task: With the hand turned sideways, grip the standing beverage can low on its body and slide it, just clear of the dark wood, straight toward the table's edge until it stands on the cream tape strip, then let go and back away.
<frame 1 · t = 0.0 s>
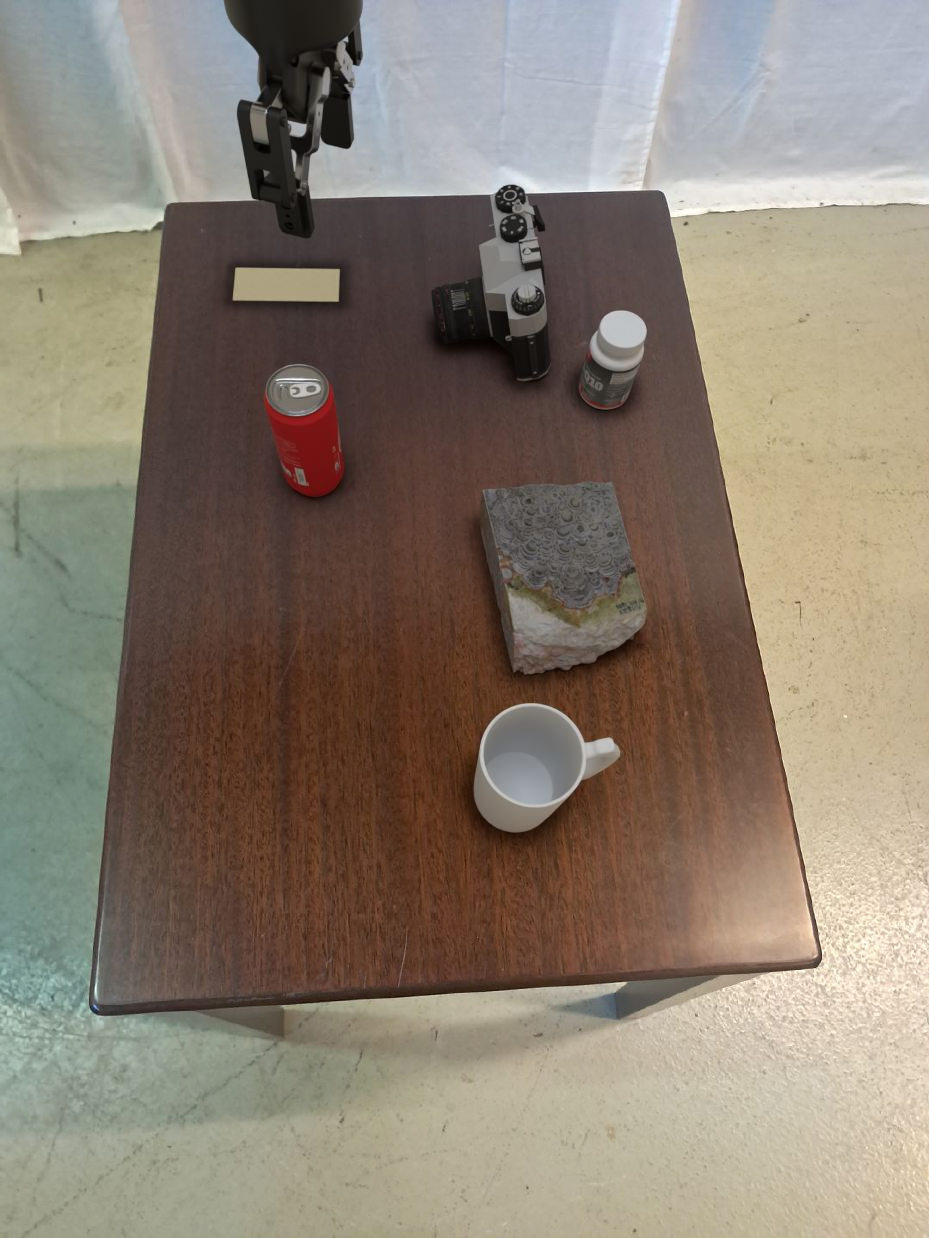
hand: (318, 187, 59), 22 cm above the table, tool pointing down, fingers open, 8 cm apart
beverage can: (315, 476, 76), on the table
mug: (534, 788, 66), on the table
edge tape: (286, 285, 83), on the table
geological specimen: (556, 585, 73), on the table
pill bottle: (602, 391, 81), on the table
camera: (486, 323, 83), on the table
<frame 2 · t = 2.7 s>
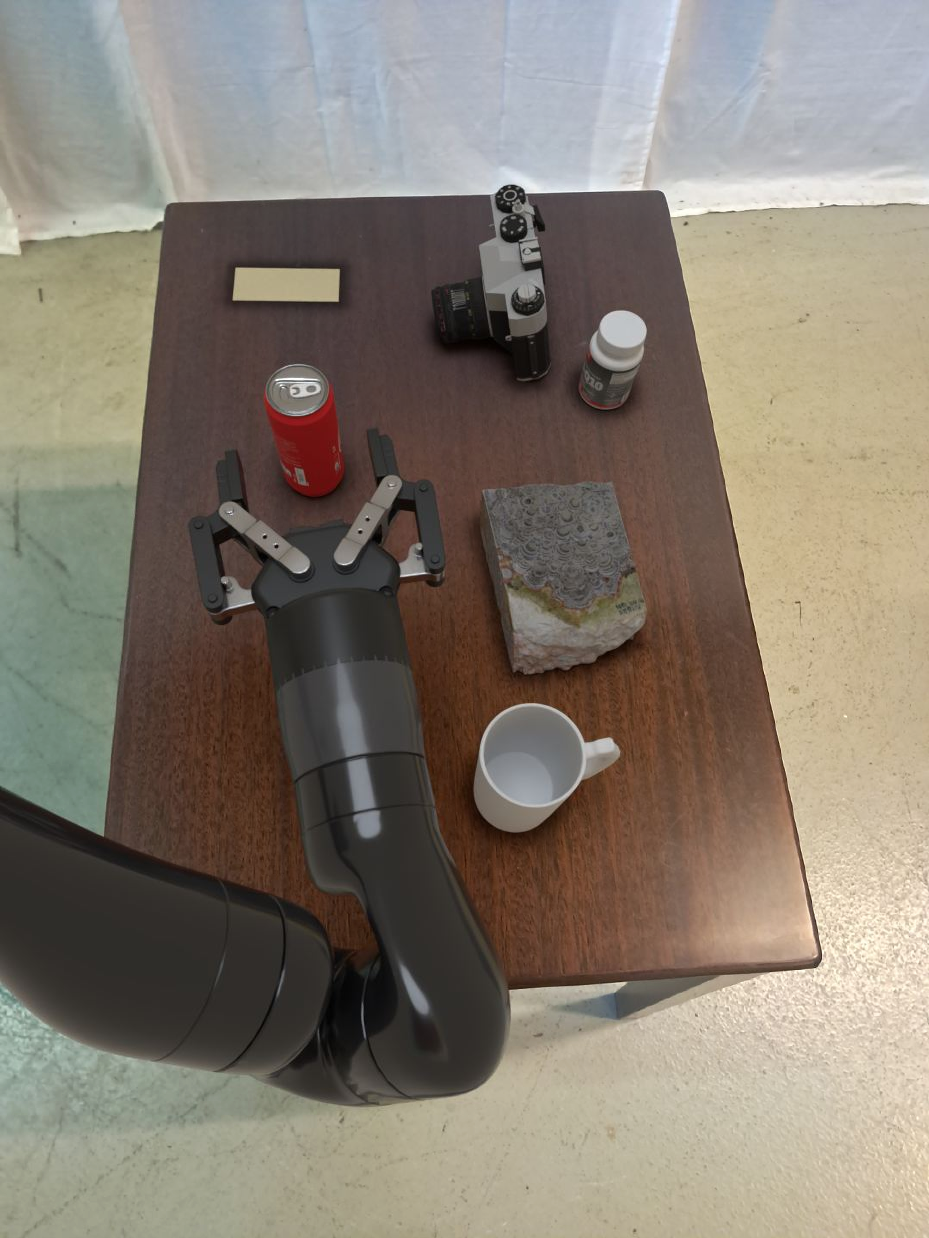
hand: (303, 446, 53), 20 cm above the table, tool horizontal, fingers open, 8 cm apart
nothing on the table moved.
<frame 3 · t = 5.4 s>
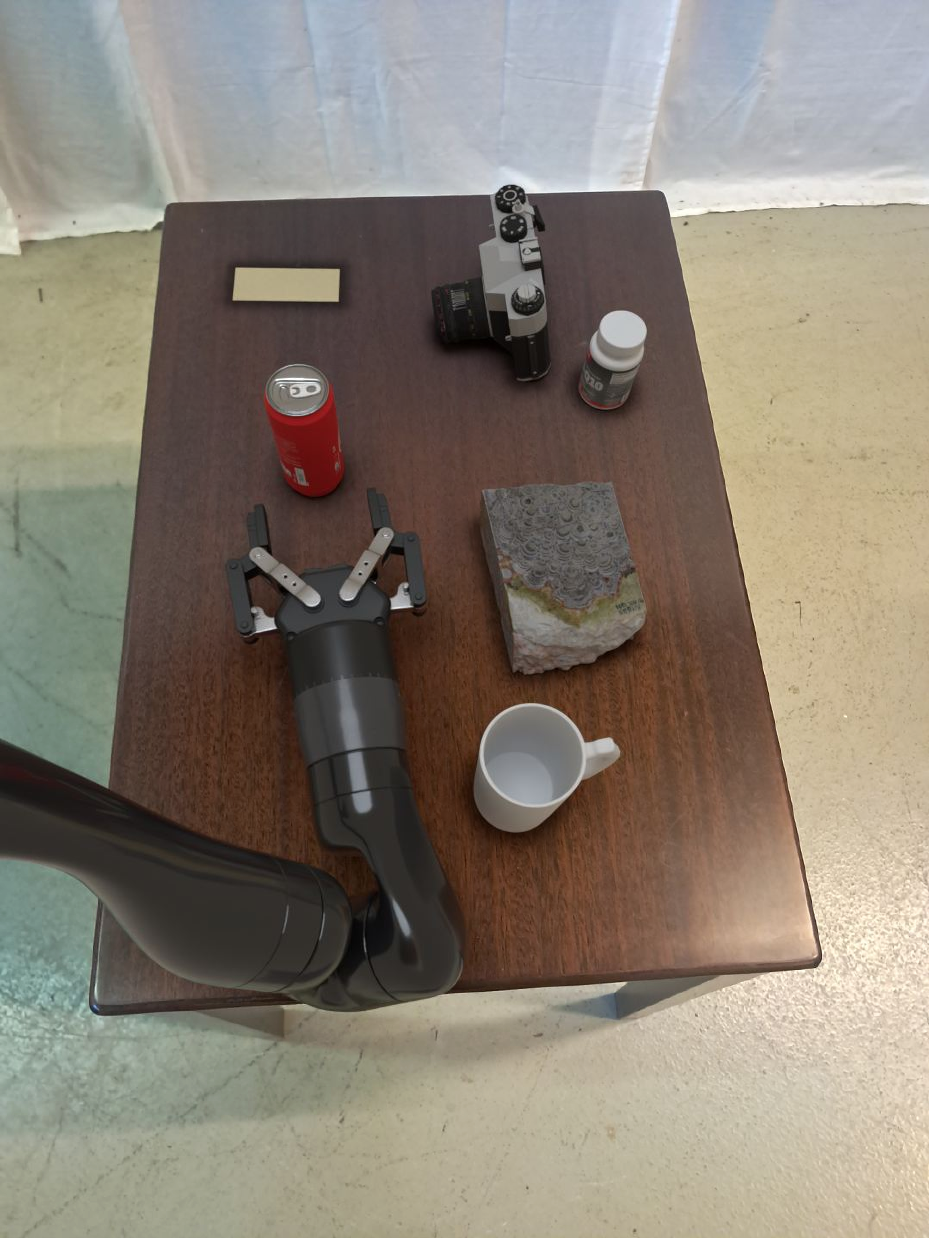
hand: (315, 500, 67), 7 cm above the table, tool horizontal, fingers open, 8 cm apart
nothing on the table moved.
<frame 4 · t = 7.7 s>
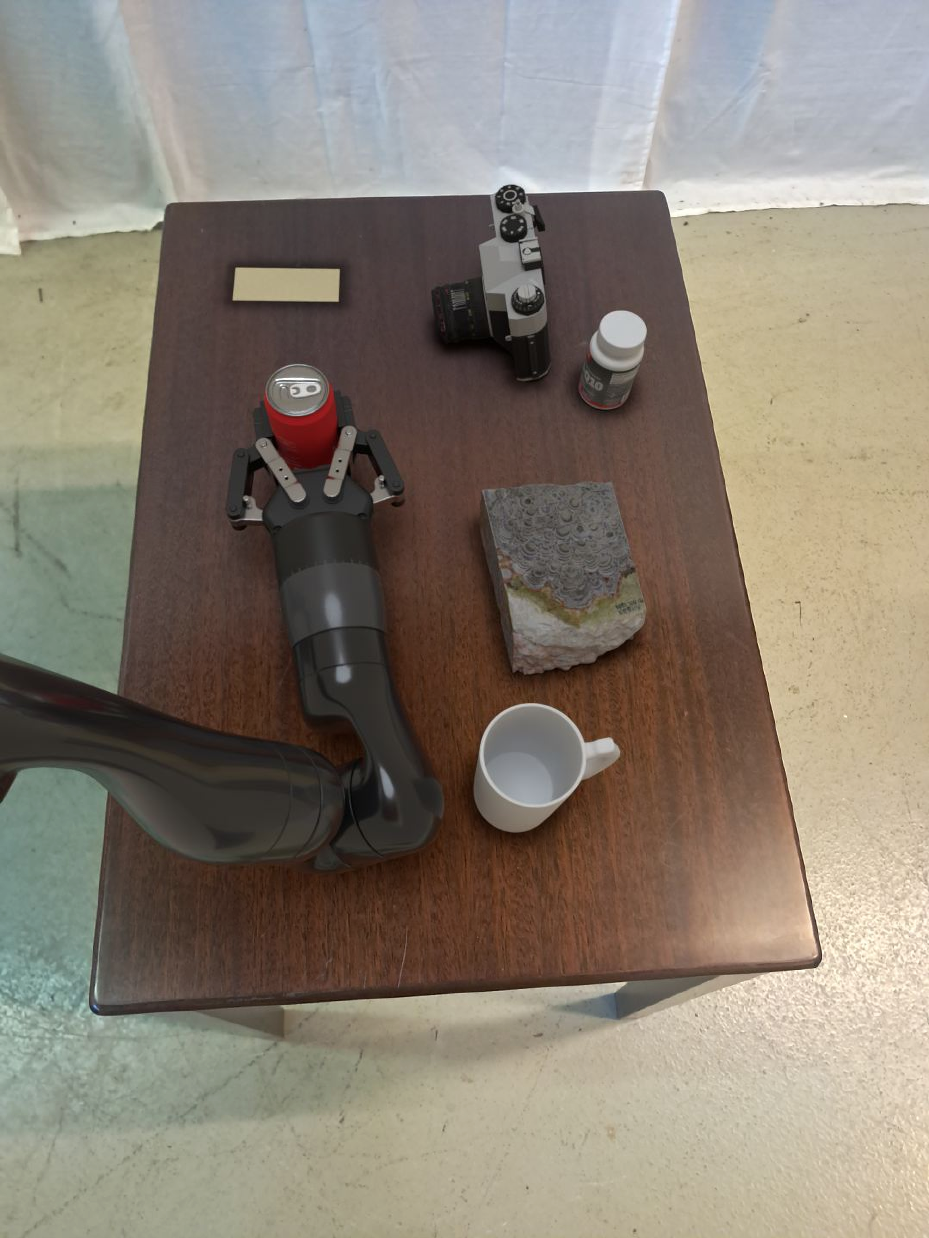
hand: (301, 402, 70), 7 cm above the table, tool horizontal, fingers closed on beverage can, 5 cm apart
beverage can: (315, 476, 76), on the table, touching gripper
everything else where it was.
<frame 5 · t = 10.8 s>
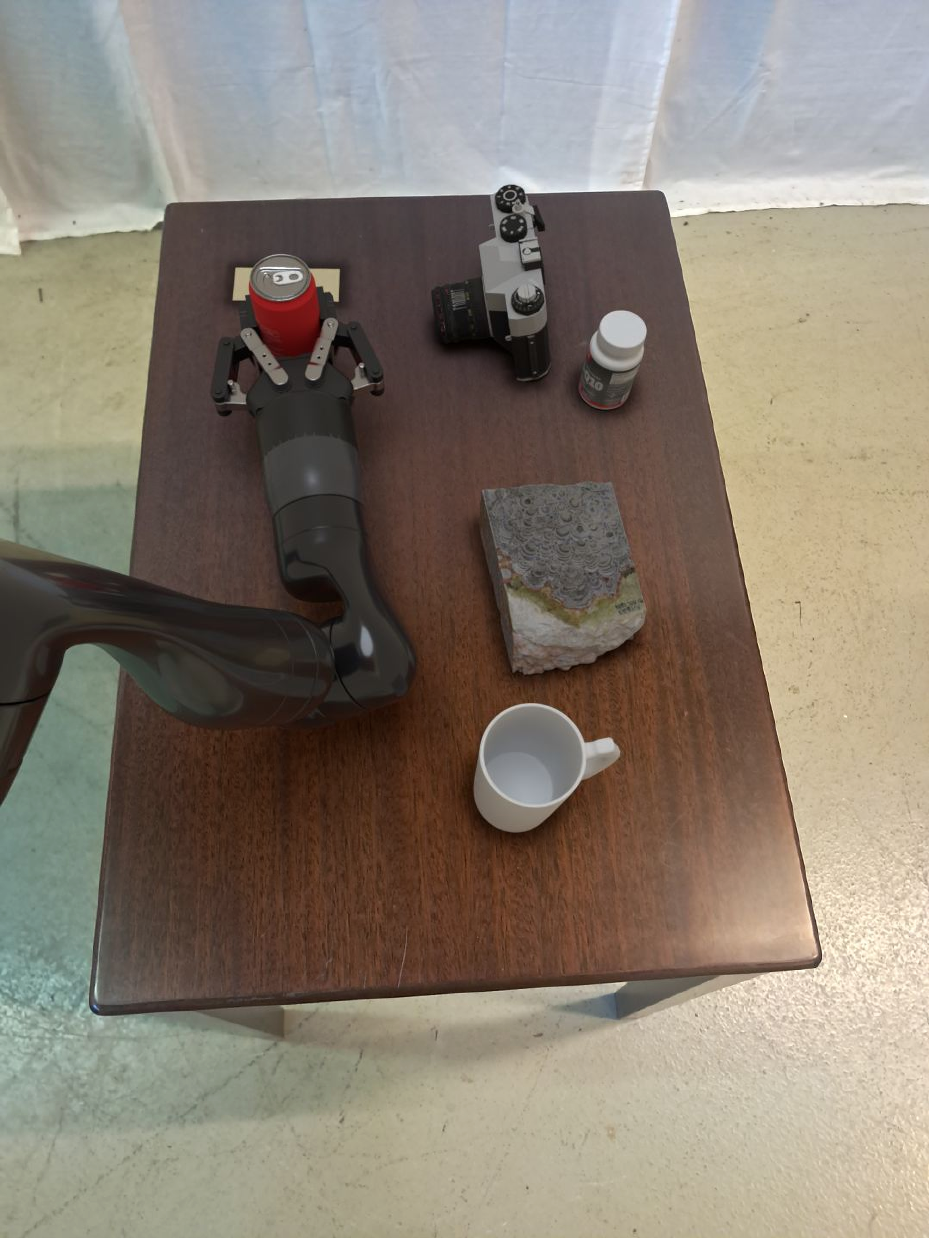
hand: (285, 298, 73), 8 cm above the table, tool horizontal, fingers closed on beverage can, 5 cm apart
beverage can: (300, 378, 78), point 1 cm above the table, touching gripper
everything else where it was.
when the fingers open (7 cm above the table, at t = 14.0 s): beverage can stays where it is, resting on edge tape.
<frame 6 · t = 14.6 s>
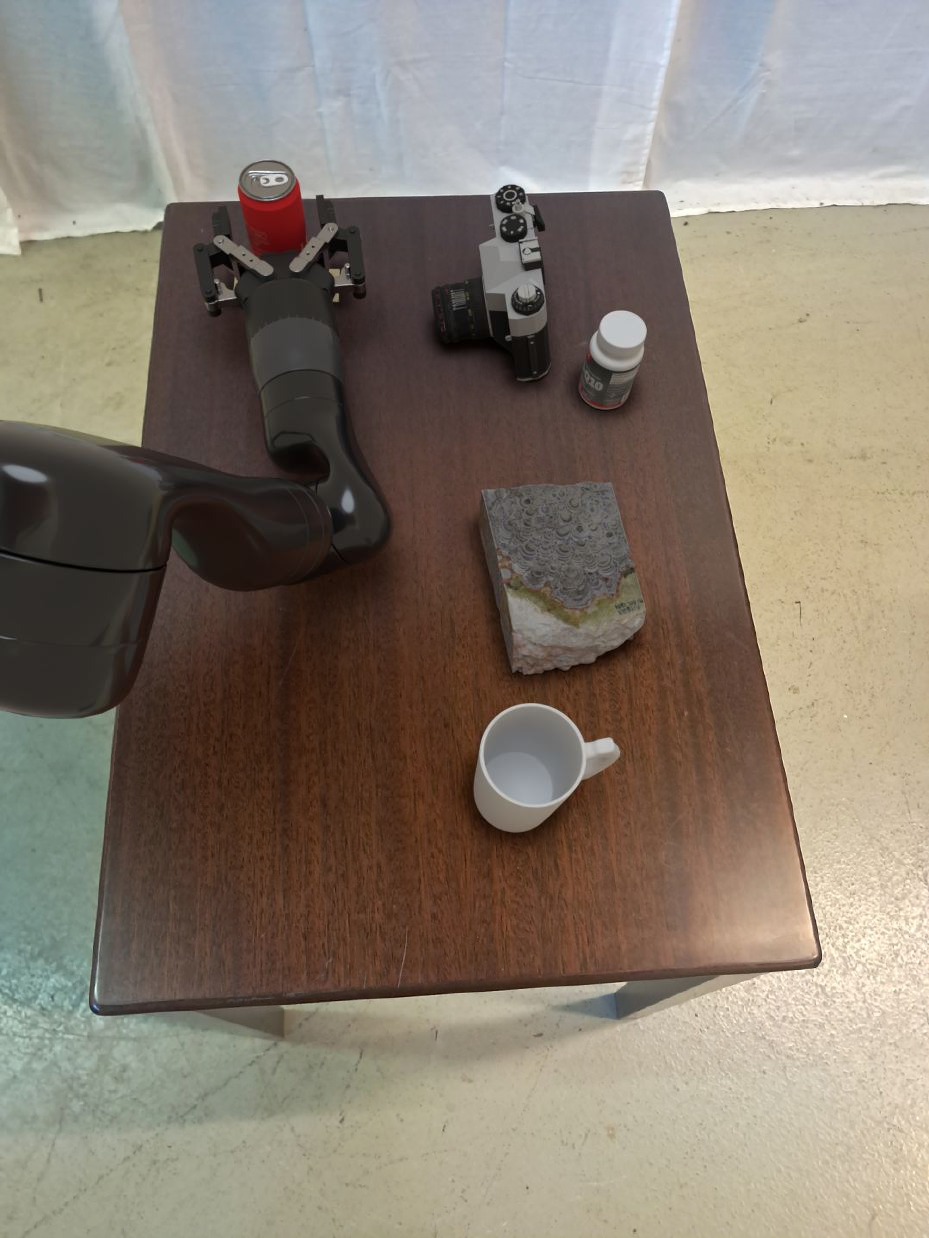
hand: (272, 207, 77), 7 cm above the table, tool horizontal, fingers open, 8 cm apart
beverage can: (287, 286, 84), resting on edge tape
everything else where it was.
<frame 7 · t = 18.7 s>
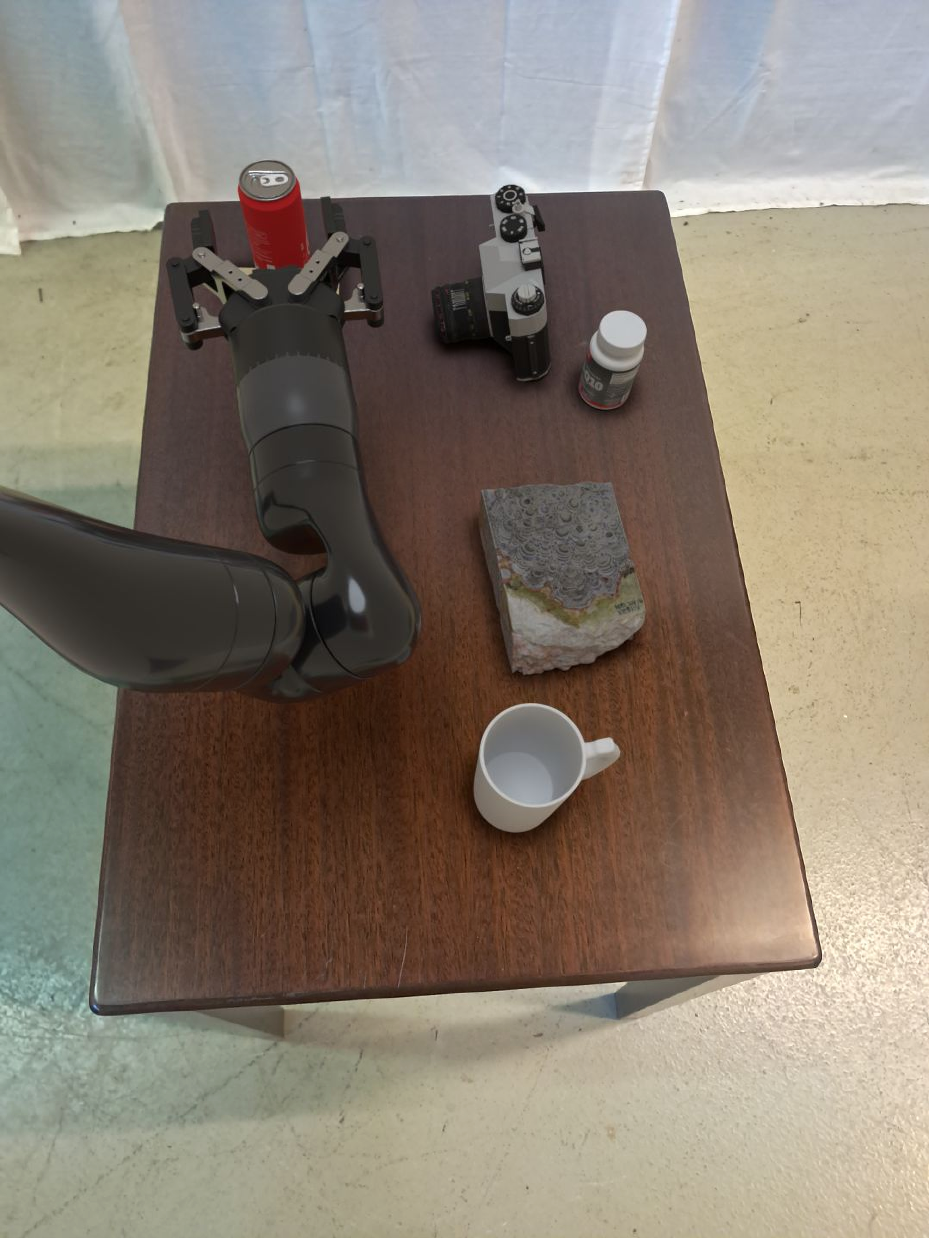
hand: (266, 212, 62), 19 cm above the table, tool horizontal, fingers open, 8 cm apart
nothing on the table moved.
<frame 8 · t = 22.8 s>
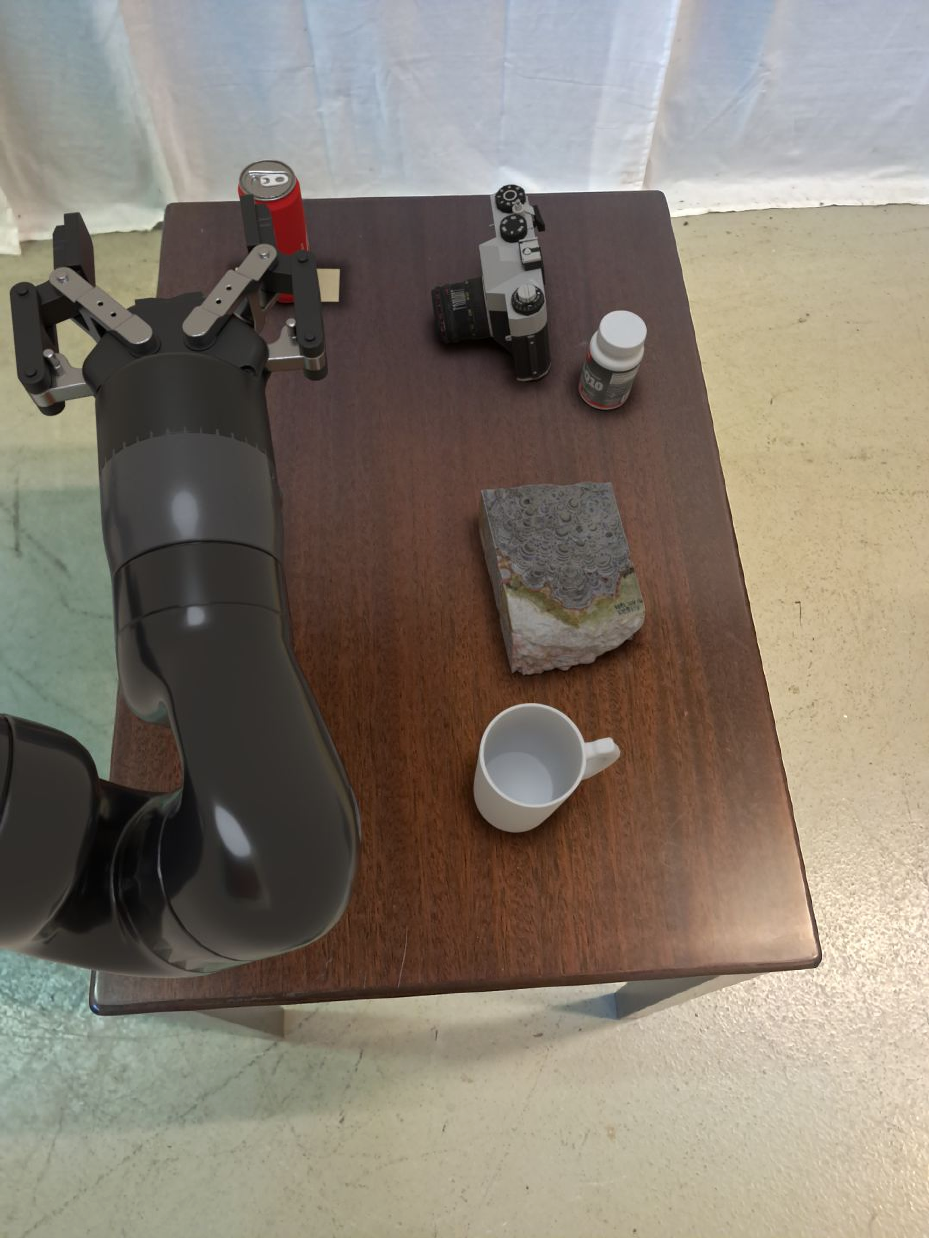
hand: (164, 216, 44), 32 cm above the table, tool horizontal, fingers open, 8 cm apart
nothing on the table moved.
at the end: beverage can inside the target area on the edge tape (0.1 cm from its centre), point 0.0 cm above the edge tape's base; beverage can tilted 0°; mug moved 0.2 cm from its start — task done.
